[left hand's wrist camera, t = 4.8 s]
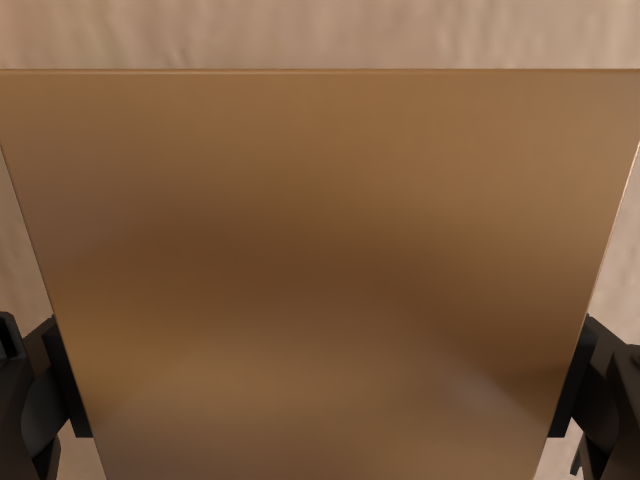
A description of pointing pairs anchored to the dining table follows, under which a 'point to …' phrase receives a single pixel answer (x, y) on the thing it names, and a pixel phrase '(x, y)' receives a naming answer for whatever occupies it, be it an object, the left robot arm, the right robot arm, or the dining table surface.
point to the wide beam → (320, 259)
